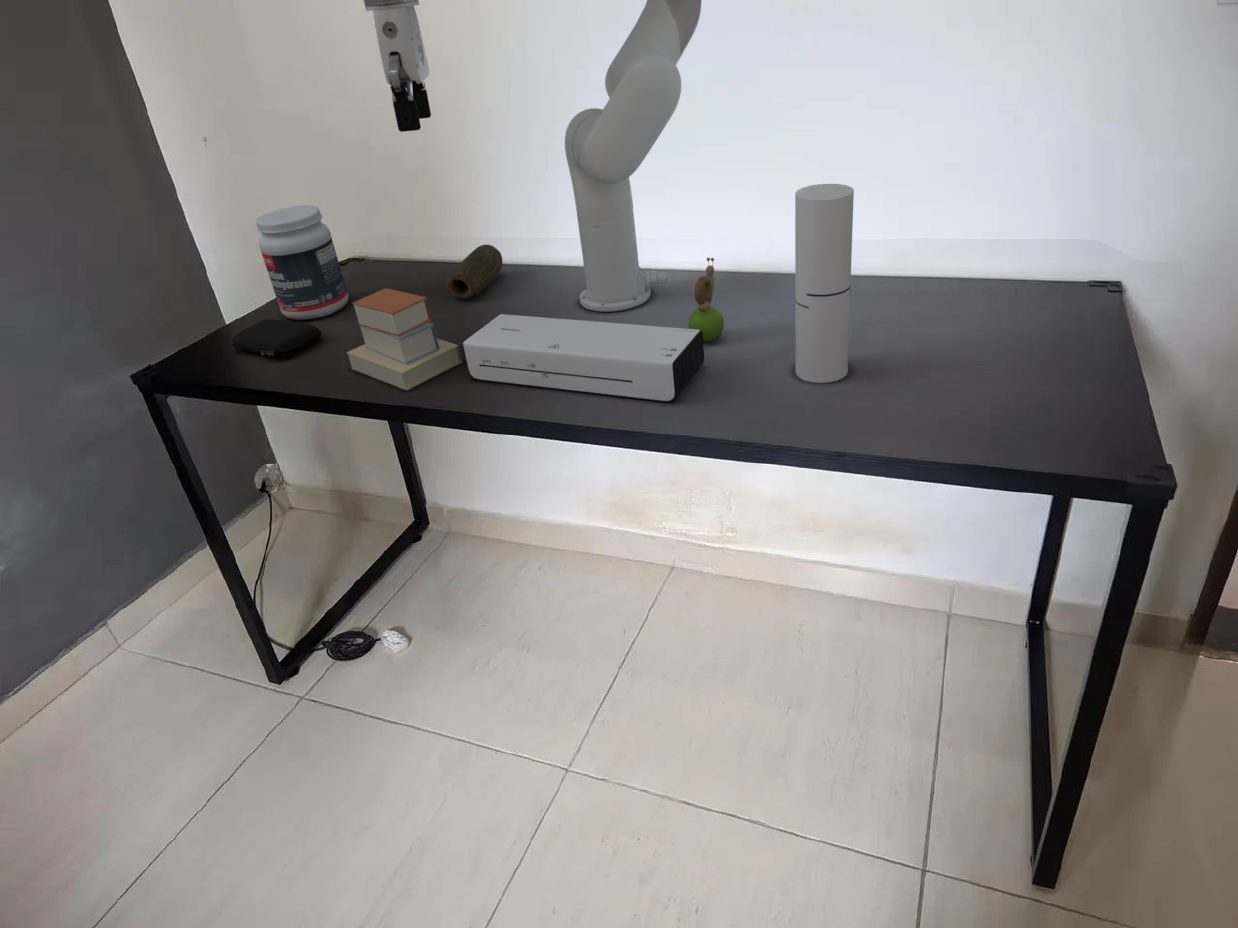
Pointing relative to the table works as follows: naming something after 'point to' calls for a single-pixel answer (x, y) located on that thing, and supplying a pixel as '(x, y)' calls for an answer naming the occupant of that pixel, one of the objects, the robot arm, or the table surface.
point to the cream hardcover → (403, 373)
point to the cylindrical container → (822, 281)
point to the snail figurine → (706, 308)
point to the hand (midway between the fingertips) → (415, 124)
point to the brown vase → (475, 272)
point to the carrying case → (276, 338)
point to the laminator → (585, 356)
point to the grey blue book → (403, 343)
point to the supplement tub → (301, 262)
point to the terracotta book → (392, 311)
